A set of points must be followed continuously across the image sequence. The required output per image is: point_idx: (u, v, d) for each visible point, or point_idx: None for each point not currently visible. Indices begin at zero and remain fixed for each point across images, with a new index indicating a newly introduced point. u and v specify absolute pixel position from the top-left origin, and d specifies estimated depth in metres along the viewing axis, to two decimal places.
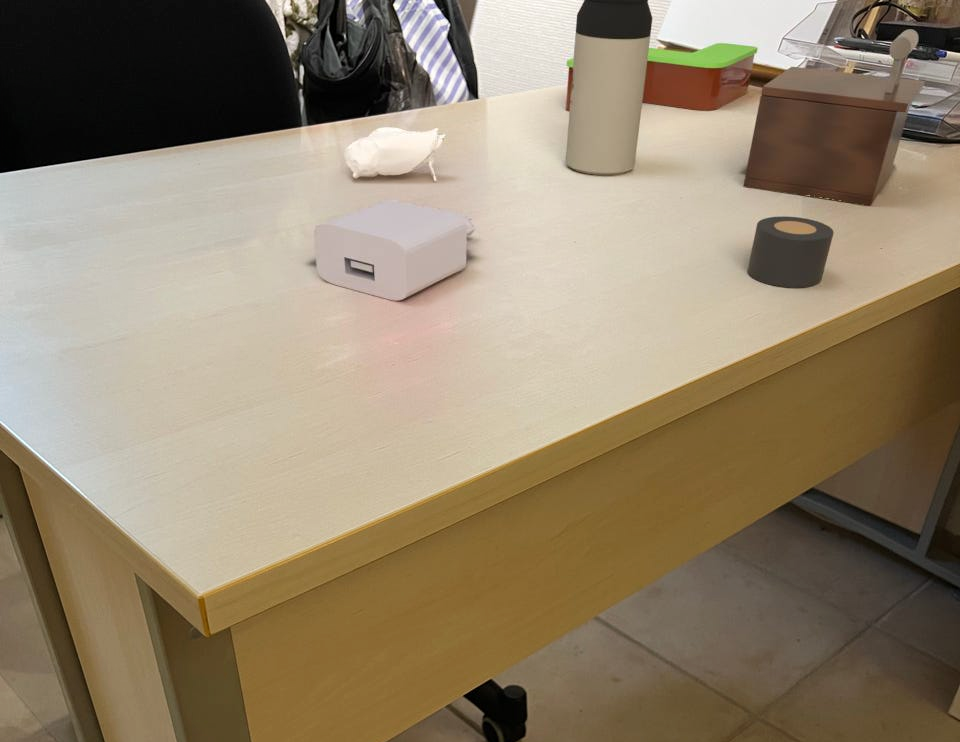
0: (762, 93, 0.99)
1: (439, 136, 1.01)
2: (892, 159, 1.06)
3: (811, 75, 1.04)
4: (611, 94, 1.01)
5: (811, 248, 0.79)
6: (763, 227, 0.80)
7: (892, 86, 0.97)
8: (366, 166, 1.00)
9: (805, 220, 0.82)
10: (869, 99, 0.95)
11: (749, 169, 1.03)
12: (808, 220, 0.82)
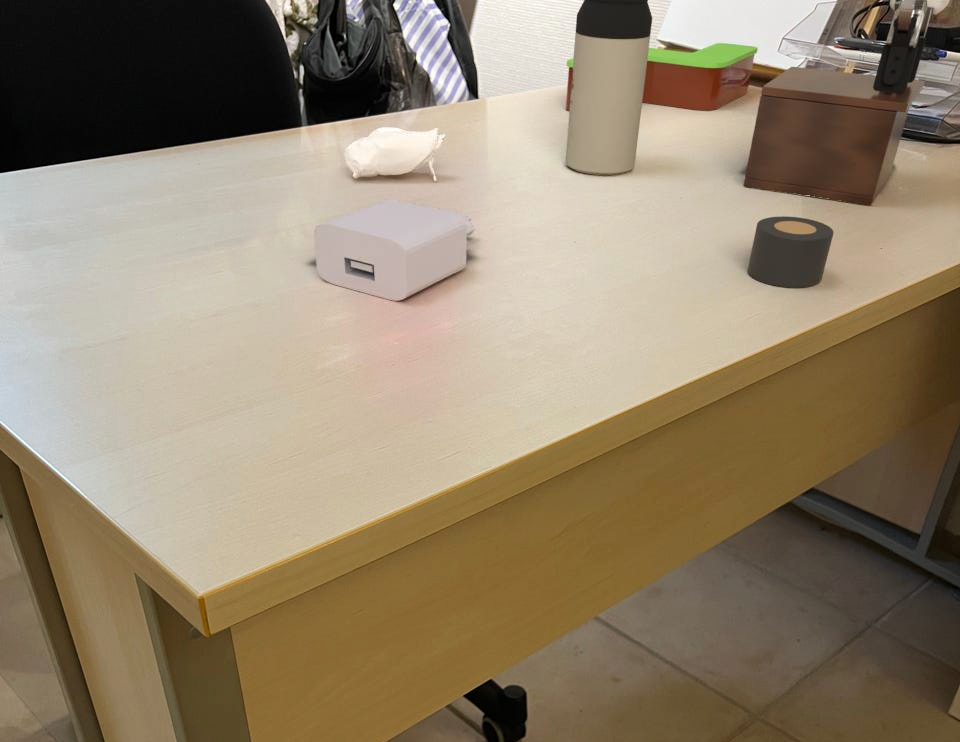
0: (762, 93, 0.99)
1: (439, 136, 1.01)
2: (892, 159, 1.06)
3: (811, 75, 1.04)
4: (611, 94, 1.01)
5: (811, 248, 0.79)
6: (763, 227, 0.80)
7: None
8: (366, 165, 1.00)
9: (805, 220, 0.82)
10: (869, 99, 0.95)
11: (749, 169, 1.03)
12: (808, 220, 0.82)
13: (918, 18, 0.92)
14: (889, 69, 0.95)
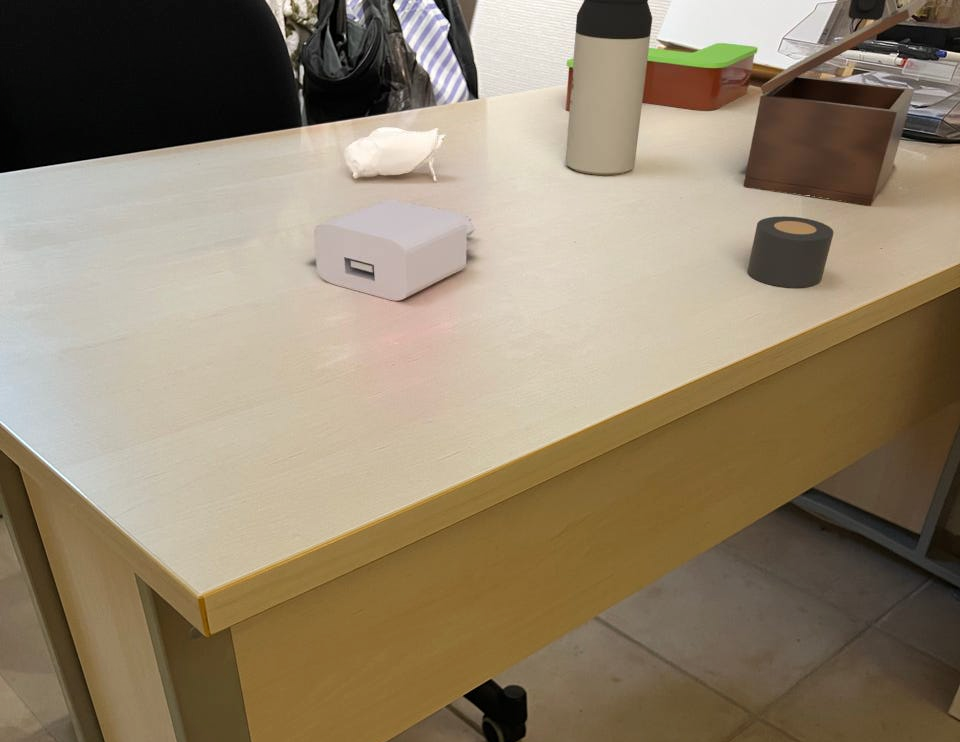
0: (763, 92, 0.98)
1: (439, 136, 1.01)
2: (892, 159, 1.06)
3: (808, 57, 1.03)
4: (611, 94, 1.01)
5: (811, 248, 0.79)
6: (763, 227, 0.80)
7: (886, 10, 0.93)
8: (366, 166, 1.00)
9: (805, 220, 0.82)
10: (867, 30, 0.92)
11: (749, 169, 1.03)
12: (808, 220, 0.82)
13: None
14: None
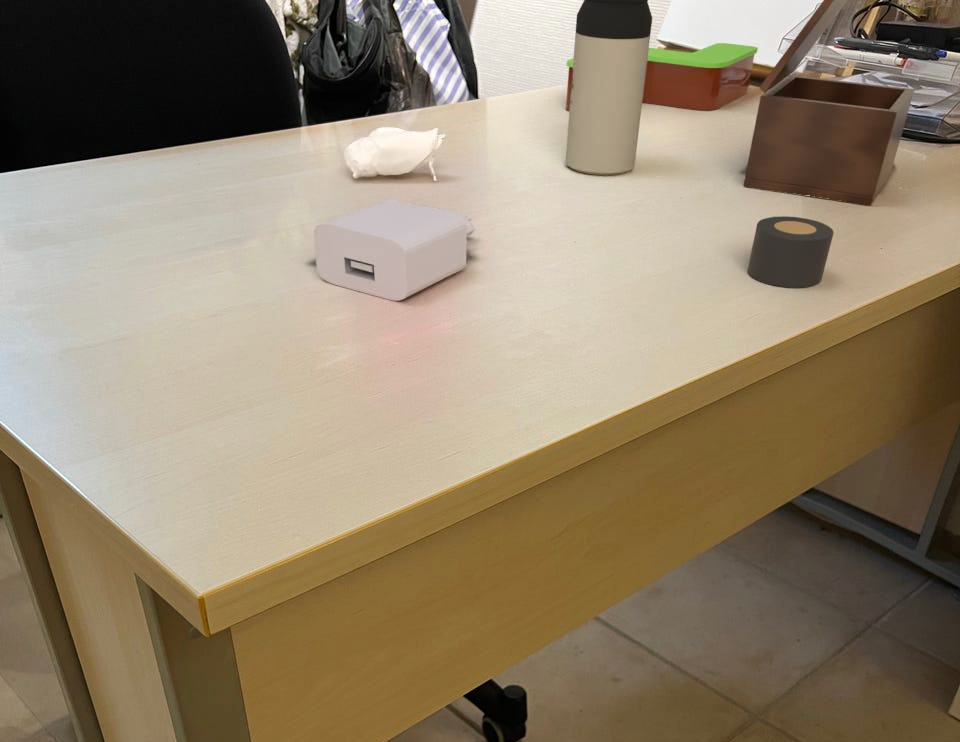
0: (764, 90, 0.98)
1: (439, 136, 1.01)
2: (892, 159, 1.06)
3: None
4: (611, 94, 1.01)
5: (811, 248, 0.79)
6: (763, 227, 0.80)
7: None
8: (366, 165, 1.00)
9: (805, 220, 0.82)
10: None
11: (749, 169, 1.03)
12: (808, 220, 0.82)
13: None
14: None
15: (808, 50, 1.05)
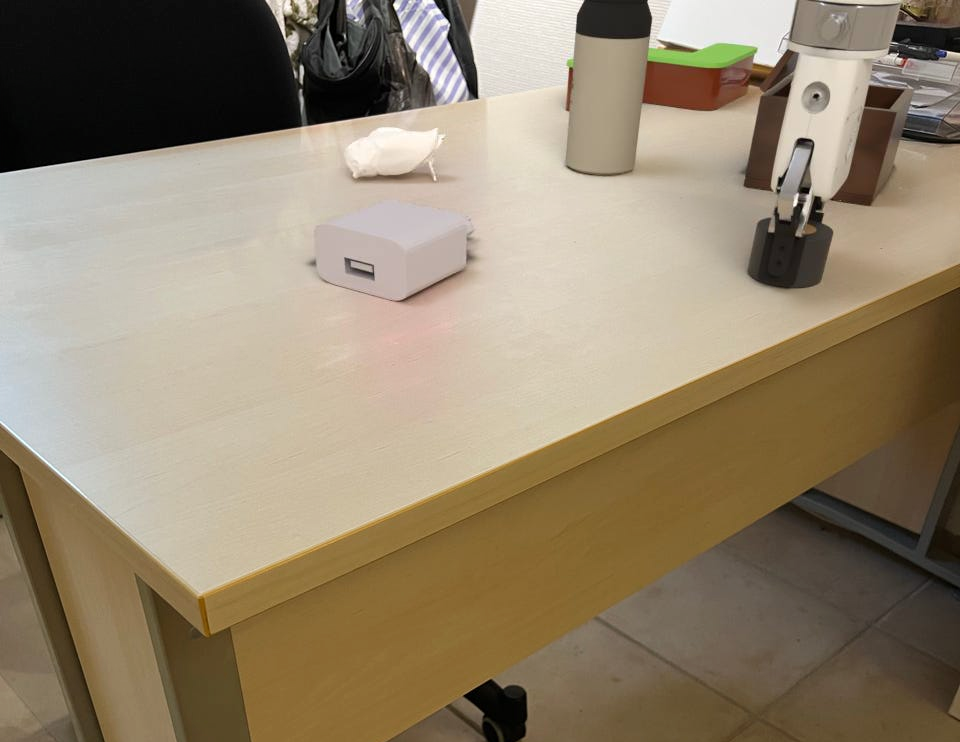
0: (764, 90, 0.98)
1: (439, 136, 1.01)
2: (892, 159, 1.06)
3: None
4: (611, 94, 1.01)
5: (811, 248, 0.79)
6: (763, 227, 0.80)
7: None
8: (366, 166, 1.00)
9: None
10: None
11: (749, 169, 1.03)
12: (808, 220, 0.82)
13: (805, 205, 0.76)
14: (774, 259, 0.78)
15: None
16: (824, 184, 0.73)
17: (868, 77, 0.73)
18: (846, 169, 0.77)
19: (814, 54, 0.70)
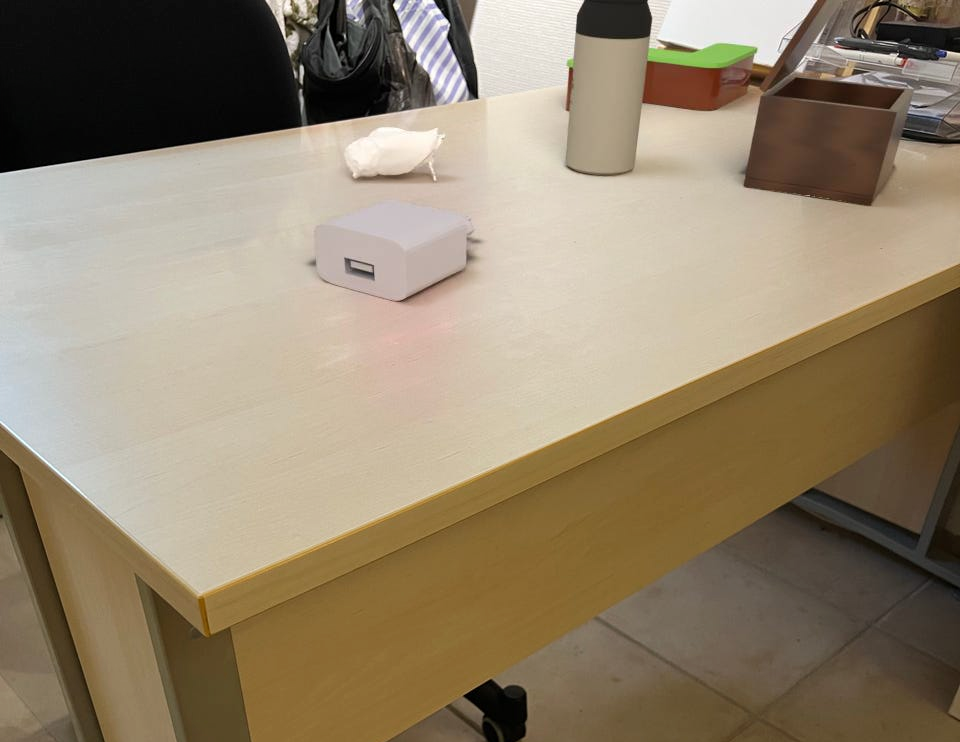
0: (764, 90, 0.98)
1: (439, 136, 1.01)
2: (892, 159, 1.06)
3: None
4: (611, 94, 1.01)
5: None
6: None
7: None
8: (366, 165, 1.00)
9: None
10: None
11: (749, 169, 1.03)
12: None
13: None
14: None
15: (807, 49, 1.05)
16: None
17: None
18: None
19: None
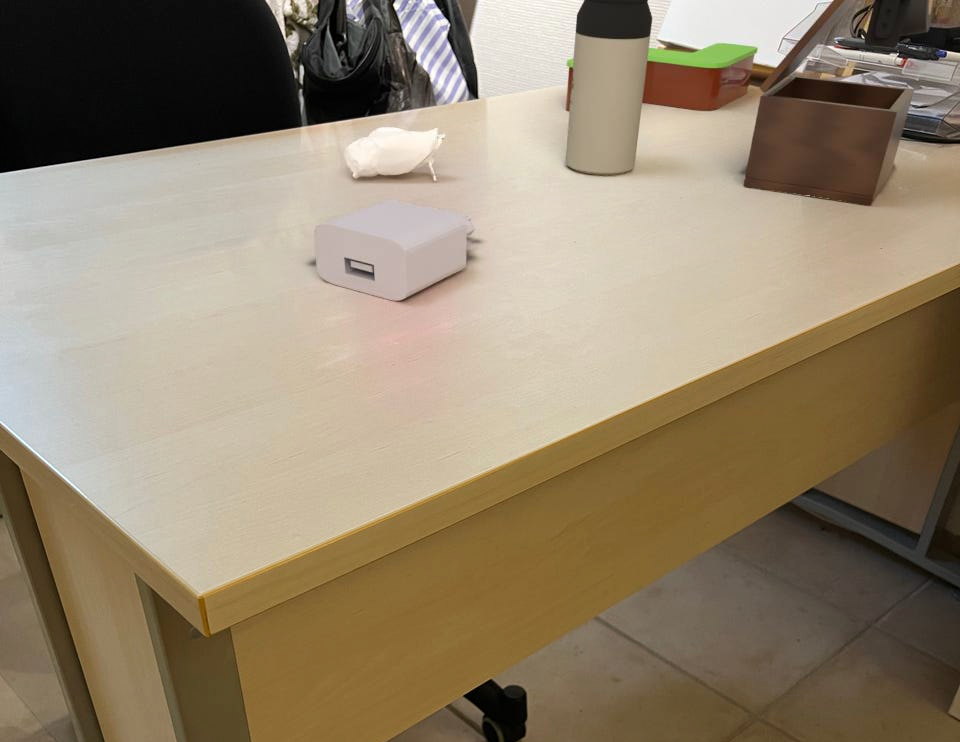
0: (764, 91, 0.98)
1: (439, 136, 1.01)
2: (892, 159, 1.06)
3: None
4: (611, 94, 1.01)
5: (918, 26, 0.94)
6: None
7: None
8: (366, 165, 1.00)
9: None
10: None
11: (749, 169, 1.03)
12: None
13: None
14: (880, 21, 0.93)
15: (809, 52, 1.05)
16: None
17: None
18: None
19: None
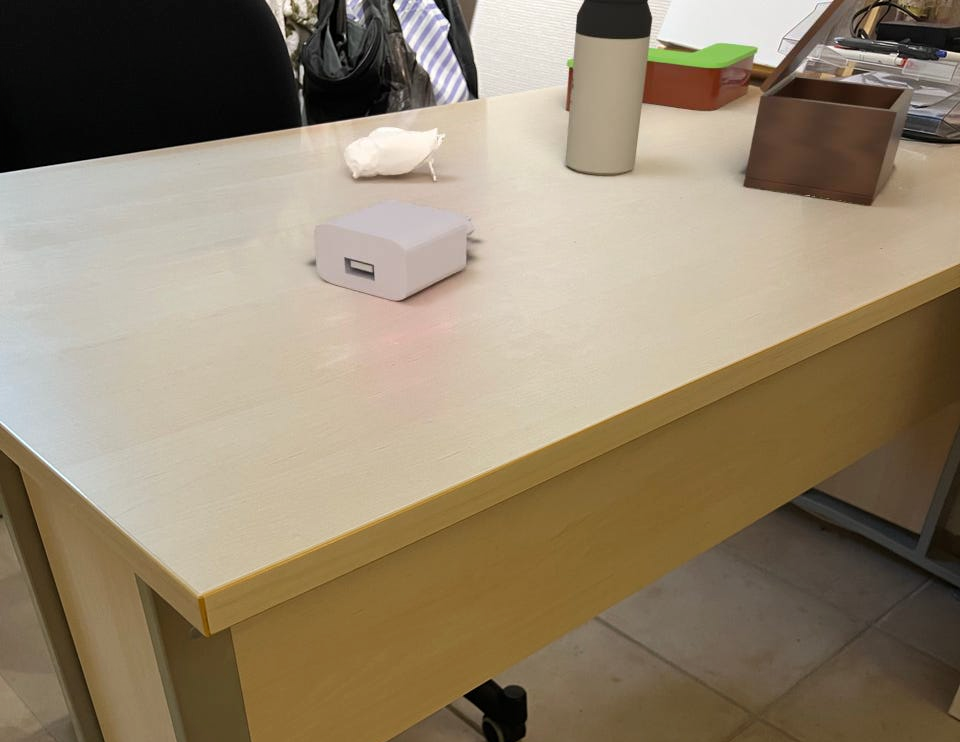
0: (764, 91, 0.98)
1: (439, 136, 1.01)
2: (892, 159, 1.06)
3: None
4: (611, 94, 1.01)
5: None
6: None
7: None
8: (366, 165, 1.00)
9: None
10: None
11: (749, 169, 1.03)
12: None
13: None
14: None
15: (809, 52, 1.05)
16: None
17: None
18: None
19: None
